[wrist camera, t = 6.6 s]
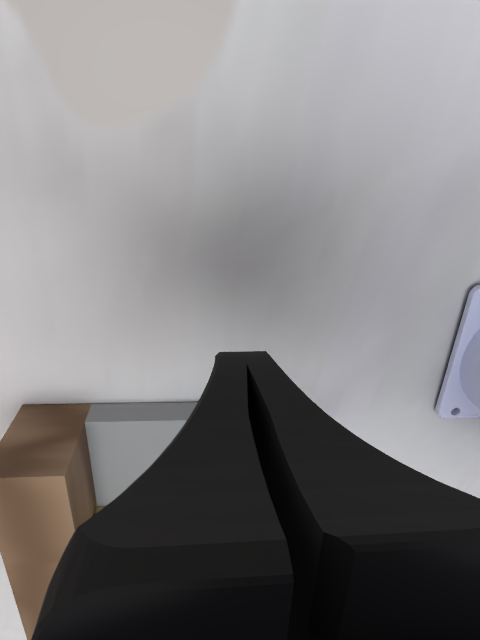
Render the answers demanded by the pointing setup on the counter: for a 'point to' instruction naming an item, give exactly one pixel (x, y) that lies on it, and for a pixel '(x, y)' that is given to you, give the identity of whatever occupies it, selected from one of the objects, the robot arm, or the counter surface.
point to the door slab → (129, 441)
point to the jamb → (42, 497)
